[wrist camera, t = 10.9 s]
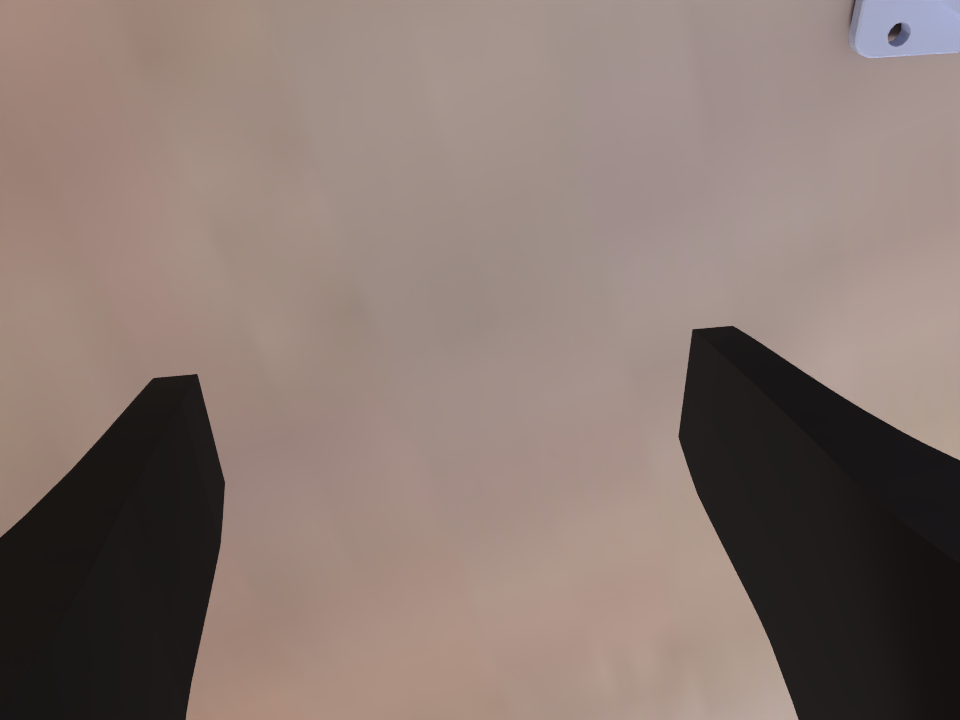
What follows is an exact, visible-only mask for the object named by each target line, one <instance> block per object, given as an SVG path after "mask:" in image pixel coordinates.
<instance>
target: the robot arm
mask: <svg viewBox="0 0 960 720" xmlns="http://www.w3.org/2000/svg"><path fill="white" fill-rule="evenodd" d="M898 23H901V31H900V33H899V36H898V37H896V38H895V39H894V40H893V41H890V42H888V34H889V31H890V29H891V28H892V27H893V26H894V25H895V24H898ZM849 43H850V45H851V48H852V49H853V50H854V51H855V52H857V53H858V54H860V55H862V56H863V57H868V58H881V57H897V56H912V55H928V54H944V53H959V52H960V0H856V2H855V7H854V12H853V17H852V22H851V27H850V32H849ZM679 440H680V443H681V446H682V450H683V453H684V456H685V459H686V462H687V465H688V468H689V471H690V474H691V477H692V480H693V483H694V485H695V488H696V491H697V494H698V496H699V498H700V500H701V502H702V504H703V506H704V508H705V510H706V512H707V514H708V516H709V519H710V521H711V523H712V525H713V527H714V529H715V531H716V533H717V535H718V537H719V539H720V541H721V543H722V545H723V547H724V549H725V551H726V552H727V554H728V556H729V558H730V560H731V562H732V564H733V566H734V568H735V570H736V572H737V574H738V576H739V578H740V580H741V582H742V584H743V586H744V588H745V590H746V592H747V594H748V596H749V598H750V600H751V602H752V604H753V606H754V608H755V610H756V612H757V614H758V616H759V618H760V620H761V623H762V625H763V627H764V629H765V632H766V634H767V636H768V638H769V640H770V643H771V646H772V648H773V651H774V654H775V656H776V659H777V662H778V664H779V667H780V670H781V672H782V675H783V678H784V680H785V683H786V686H787V688H788V691H789V694H790V696H791V699H792V702H793V705H794V707H795V710H796V713H797V716H798V719H799V720H960V460H958V459H956V458H953V457H951V456H949V455H947V454H945V453H943V452H941V451H939V450H937V449H935V448H933V447H930V446H928V445H926V444H924V443H922V442H920V441H919V440H917V439H915V438H913V437H911V436H909V435H907V434H905V433H903V432H901V431H900V430H898V429H896V428H894V427H893V426H891V425H889V424H887V423H886V422H884V421H882V420H880V419H879V418H877V417H875V416H873V415H872V414H870V413H868V412H866V411H865V410H863V409H861V408H860V407H858V406H856V405H855V404H853V403H851V402H850V401H848V400H846V399H845V398H843V397H842V396H840V395H838V394H837V393H835V392H834V391H832V390H831V389H829V388H827V387H826V386H824V385H823V384H821V383H820V382H818V381H817V380H815V379H814V378H812V377H811V376H809V375H807V374H806V373H804V372H803V371H801V370H800V369H798V368H797V367H795V366H794V365H792V364H791V363H789V362H788V361H786V360H785V359H783V358H782V357H781V356H779V355H778V354H776V353H775V352H773V351H772V350H770V349H769V348H767V347H766V346H764V345H763V344H761V343H760V342H758V341H756V340H755V339H753V338H752V337H750V336H749V335H747V334H745V333H744V332H742V331H740V330H739V329H737V328H735V327H734V326H726V327H715V328H704V329H693V330H692V338H691V346H690V353H689V361H688V368H687V376H686V384H685V391H684V399H683V407H682V414H681V422H680V430H679ZM224 489H225V481H224V477H223V473H222V470H221V466H220V462H219V458H218V454H217V450H216V446H215V442H214V438H213V434H212V430H211V426H210V422H209V418H208V414H207V410H206V406H205V402H204V399H203V395H202V391H201V387H200V383H199V379H198V375H197V374H194V375H183V376H172V377H161V378H153V379H152V380H151V381H150V382H149V384H148V385H147V386H146V387H145V388H144V389H143V390H142V391H141V392H140V394H139V395H138V396H137V397H136V398H135V399H134V400H133V401H132V403H131V404H130V405H129V406H128V407H127V408H126V409H125V411H124V412H123V413H122V414H121V415H120V416H119V417H118V419H117V420H116V421H115V422H114V423H113V424H112V425H111V427H110V428H109V429H108V430H107V431H106V432H105V433H104V435H103V436H102V437H101V438H100V439H99V440H98V441H97V442H96V443H95V445H94V446H93V447H92V448H91V449H90V450H89V451H88V452H87V453H86V454H85V455H84V457H83V458H82V459H81V460H80V461H79V462H78V463H77V464H76V465H75V466H74V467H73V469H72V470H71V471H70V472H69V473H68V474H67V475H66V476H65V477H64V478H63V479H62V480H61V481H60V482H59V483H58V484H57V485H56V486H54V487H53V488H52V489H51V490H50V491H49V492H48V493H47V494H46V495H45V496H44V497H43V498H42V499H41V500H40V501H39V502H38V503H37V504H36V505H35V506H34V507H33V508H32V509H31V510H30V511H29V512H28V513H27V514H26V515H25V516H24V517H23V518H22V519H21V520H20V521H19V522H17V523H16V524H15V525H14V526H13V527H12V528H11V529H10V530H8V531H7V532H6V533H5V534H4V535H3V536H2V537H0V720H186V712H187V706H188V700H189V694H190V688H191V682H192V677H193V672H194V668H195V663H196V659H197V654H198V649H199V645H200V640H201V635H202V631H203V626H204V621H205V617H206V612H207V607H208V603H209V598H210V593H211V589H212V584H213V579H214V574H215V569H216V564H217V560H218V554H219V549H220V544H221V532H222V520H223V505H224Z"/></svg>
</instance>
